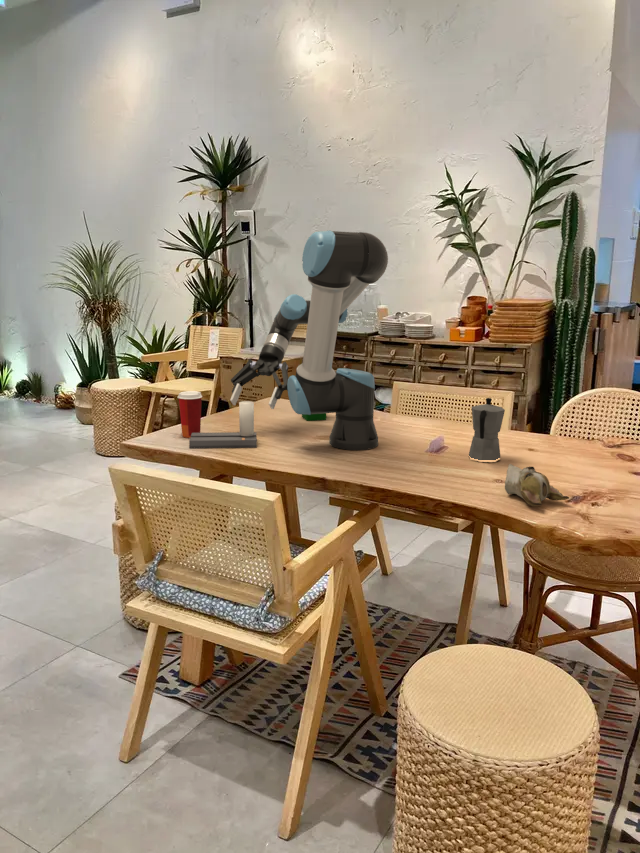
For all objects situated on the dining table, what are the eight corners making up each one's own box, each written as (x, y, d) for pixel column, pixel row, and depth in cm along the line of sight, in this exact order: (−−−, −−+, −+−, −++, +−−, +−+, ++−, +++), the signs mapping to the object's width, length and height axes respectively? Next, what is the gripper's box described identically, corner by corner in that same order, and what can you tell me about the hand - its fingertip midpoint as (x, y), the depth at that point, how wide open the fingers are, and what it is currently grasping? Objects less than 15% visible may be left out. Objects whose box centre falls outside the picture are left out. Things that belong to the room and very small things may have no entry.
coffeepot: (472, 451, 204) (476, 392, 200) (504, 455, 200) (509, 395, 196) (461, 464, 190) (465, 401, 186) (495, 468, 187) (500, 404, 183)
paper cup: (206, 433, 220) (205, 391, 217) (199, 439, 213) (198, 395, 210) (182, 432, 221) (181, 390, 218) (175, 438, 214) (173, 394, 210)
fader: (253, 439, 211) (253, 401, 208) (254, 442, 207) (253, 404, 204) (239, 439, 210) (239, 401, 208) (239, 442, 206) (239, 404, 203)
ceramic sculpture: (525, 454, 168) (574, 474, 156) (521, 487, 171) (569, 508, 158) (494, 460, 163) (542, 481, 151) (490, 494, 166) (537, 516, 153)
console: (256, 439, 214) (256, 431, 213) (256, 447, 204) (256, 439, 203) (192, 440, 212) (191, 432, 211) (189, 448, 202) (189, 440, 201)
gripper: (311, 360, 218) (291, 415, 208) (244, 355, 228) (221, 407, 218) (305, 345, 212) (283, 401, 203) (236, 341, 222) (212, 394, 212)
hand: (251, 404), depth 210 cm, fingers open, 13 cm apart
